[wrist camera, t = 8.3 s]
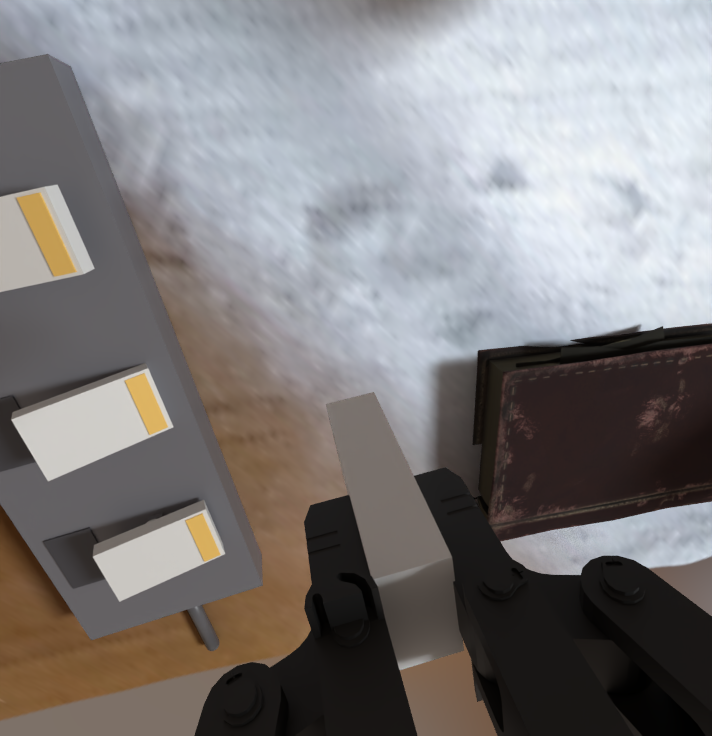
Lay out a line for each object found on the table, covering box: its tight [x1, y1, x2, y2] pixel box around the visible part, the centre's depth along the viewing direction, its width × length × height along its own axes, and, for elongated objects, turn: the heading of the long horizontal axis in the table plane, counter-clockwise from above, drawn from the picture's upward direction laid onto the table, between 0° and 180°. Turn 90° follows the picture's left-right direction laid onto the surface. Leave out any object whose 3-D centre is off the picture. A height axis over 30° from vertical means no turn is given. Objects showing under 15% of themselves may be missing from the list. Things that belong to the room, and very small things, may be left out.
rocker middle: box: [11, 364, 173, 481], centre depth 30 cm, size 4×8×2 cm, turn 102°
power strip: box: [0, 54, 263, 651], centre depth 35 cm, size 47×14×4 cm, turn 12°
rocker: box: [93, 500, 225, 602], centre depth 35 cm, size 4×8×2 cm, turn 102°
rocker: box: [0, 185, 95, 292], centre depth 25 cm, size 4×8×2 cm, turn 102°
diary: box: [473, 324, 712, 541], centre depth 44 cm, size 19×25×5 cm
